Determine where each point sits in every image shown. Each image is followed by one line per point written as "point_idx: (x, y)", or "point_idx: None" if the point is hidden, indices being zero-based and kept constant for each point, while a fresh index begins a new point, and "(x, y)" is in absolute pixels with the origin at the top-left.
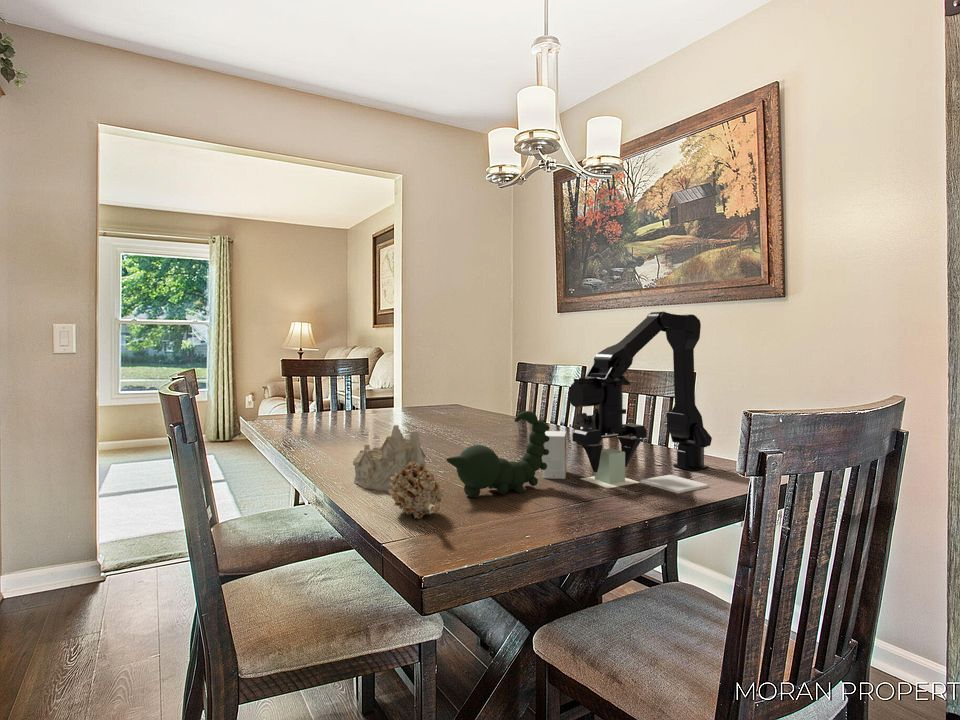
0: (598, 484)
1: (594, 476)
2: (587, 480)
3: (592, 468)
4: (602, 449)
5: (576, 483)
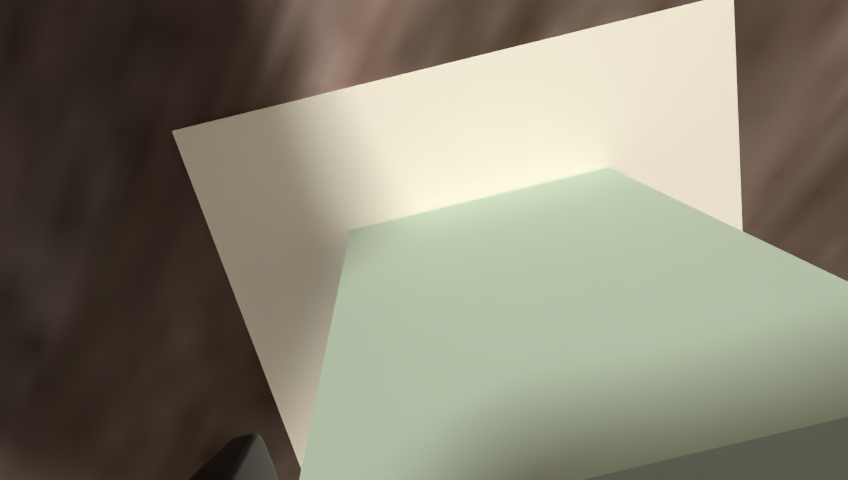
0: (294, 429)
1: (416, 90)
2: (238, 249)
3: (206, 474)
4: (646, 463)
5: (60, 316)
